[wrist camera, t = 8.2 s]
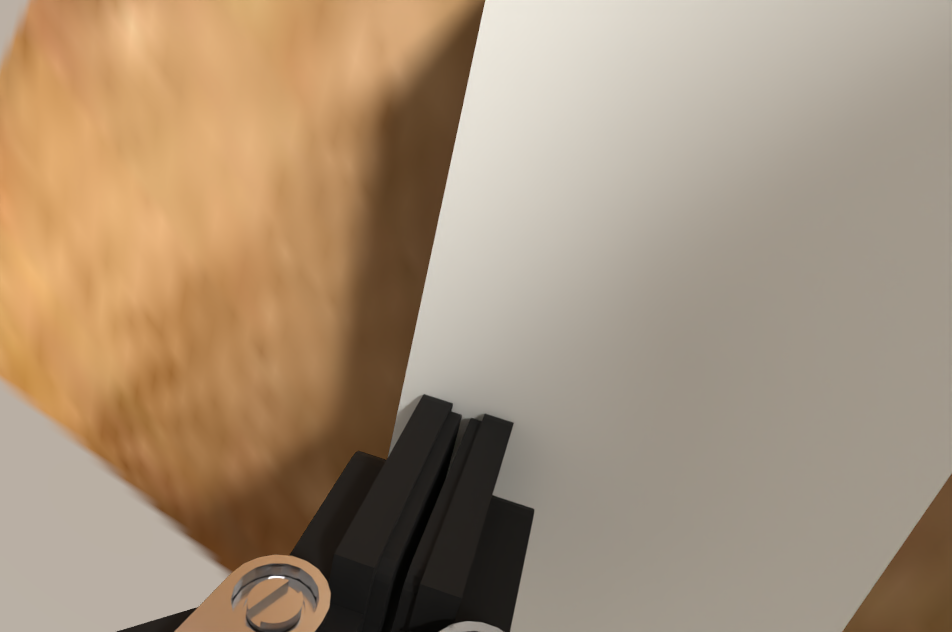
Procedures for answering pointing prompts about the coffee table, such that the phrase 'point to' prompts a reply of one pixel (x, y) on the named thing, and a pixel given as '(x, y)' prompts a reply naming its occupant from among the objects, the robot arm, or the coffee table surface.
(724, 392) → the panel
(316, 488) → the coffee table surface
